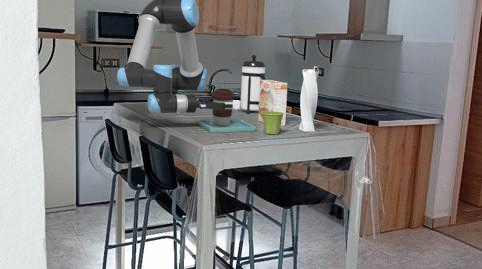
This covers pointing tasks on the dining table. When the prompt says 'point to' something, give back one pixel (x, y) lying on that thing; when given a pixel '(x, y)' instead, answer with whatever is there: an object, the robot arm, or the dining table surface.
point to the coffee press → (251, 84)
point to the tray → (232, 127)
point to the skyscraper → (308, 100)
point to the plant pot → (272, 121)
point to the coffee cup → (219, 115)
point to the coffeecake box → (272, 98)
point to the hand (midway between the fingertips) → (234, 103)
